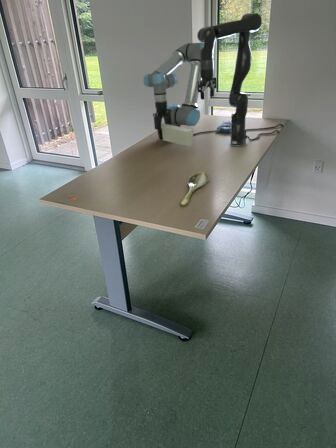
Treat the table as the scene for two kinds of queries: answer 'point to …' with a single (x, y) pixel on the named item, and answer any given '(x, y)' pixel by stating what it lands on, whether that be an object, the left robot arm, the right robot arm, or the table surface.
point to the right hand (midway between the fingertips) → (207, 97)
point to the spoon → (195, 184)
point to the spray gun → (225, 127)
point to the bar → (177, 134)
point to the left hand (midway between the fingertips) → (164, 137)
